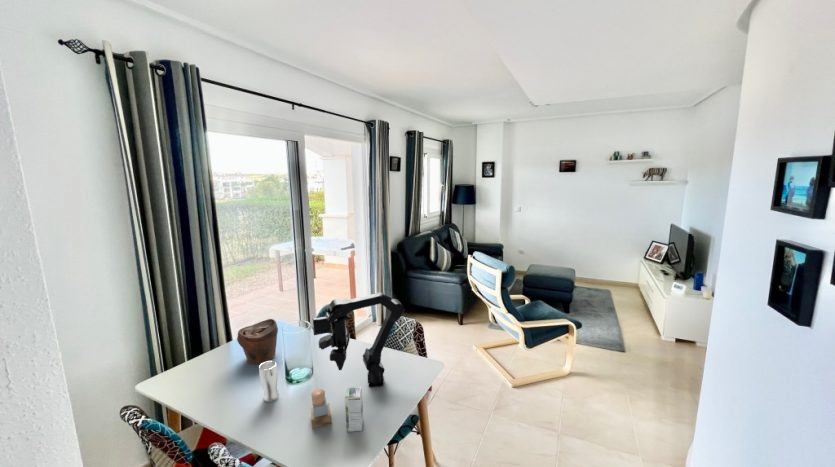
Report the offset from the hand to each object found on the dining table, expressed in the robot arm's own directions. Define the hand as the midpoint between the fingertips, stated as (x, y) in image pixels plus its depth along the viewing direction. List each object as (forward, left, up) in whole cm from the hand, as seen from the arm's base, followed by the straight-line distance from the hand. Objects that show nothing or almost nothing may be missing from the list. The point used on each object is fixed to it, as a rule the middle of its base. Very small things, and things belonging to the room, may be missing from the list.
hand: (341, 363), depth 149 cm
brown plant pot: (+45, -31, -13) cm, 56 cm away
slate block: (+7, +17, -9) cm, 20 cm away
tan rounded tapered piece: (+7, +17, -5) cm, 19 cm away
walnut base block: (+7, +17, -13) cm, 22 cm away
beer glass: (+30, +1, -13) cm, 33 cm away
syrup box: (-7, +21, -13) cm, 26 cm away
